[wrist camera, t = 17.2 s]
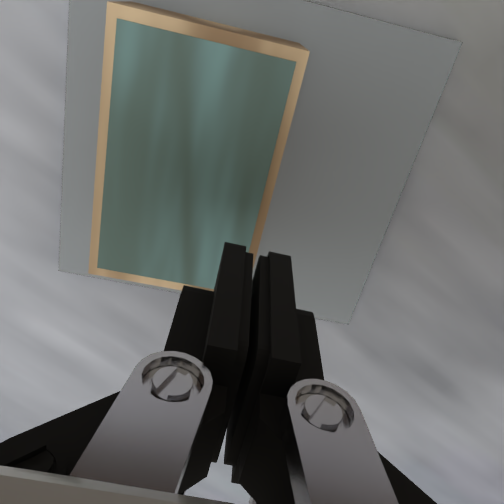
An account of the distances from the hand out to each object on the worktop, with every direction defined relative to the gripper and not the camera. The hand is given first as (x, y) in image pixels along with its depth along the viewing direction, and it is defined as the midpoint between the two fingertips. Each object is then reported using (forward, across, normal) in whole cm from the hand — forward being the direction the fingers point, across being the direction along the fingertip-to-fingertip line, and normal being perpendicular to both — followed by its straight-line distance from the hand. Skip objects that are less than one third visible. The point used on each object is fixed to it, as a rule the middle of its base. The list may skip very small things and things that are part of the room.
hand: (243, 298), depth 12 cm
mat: (+10, +1, 0) cm, 11 cm away
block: (+8, -1, 0) cm, 8 cm away
